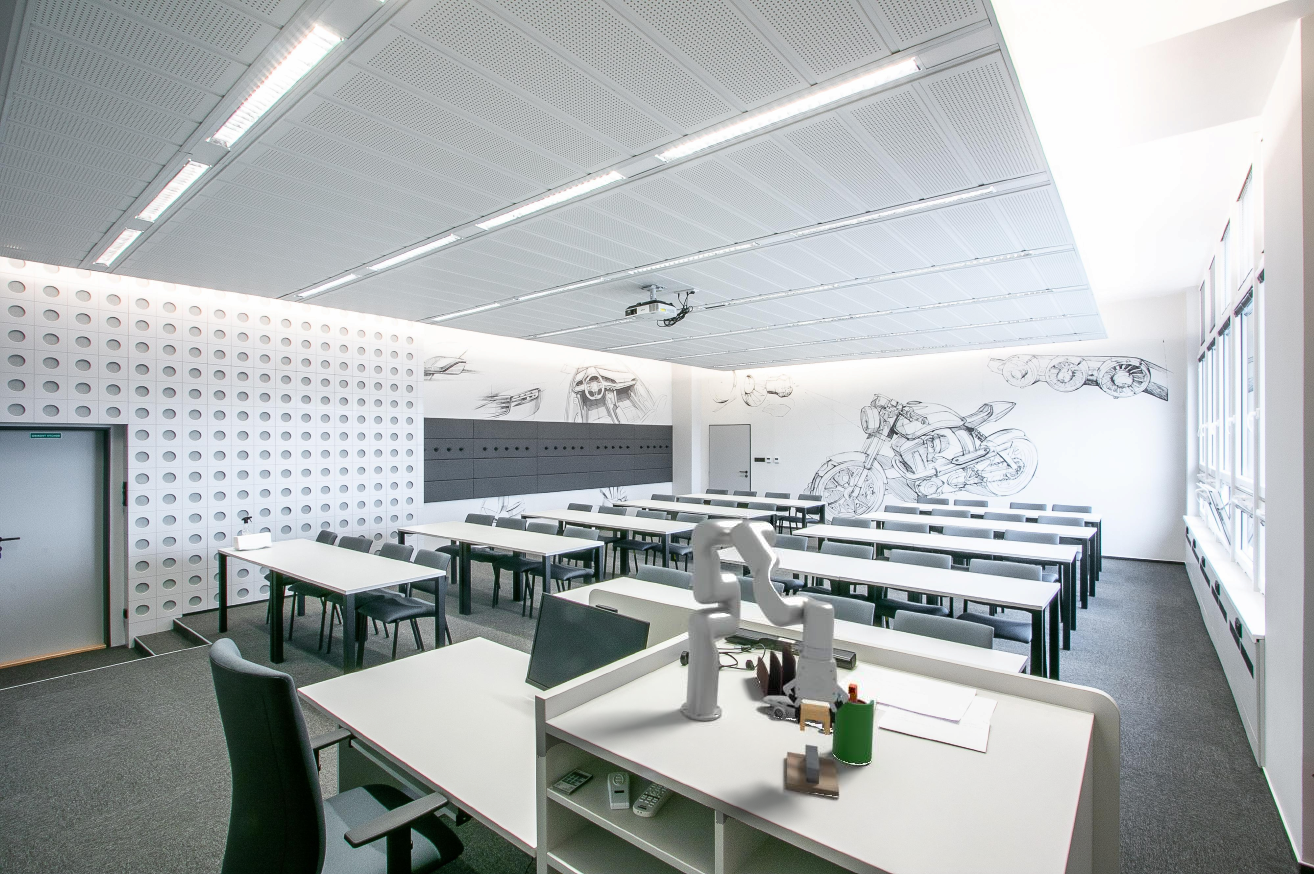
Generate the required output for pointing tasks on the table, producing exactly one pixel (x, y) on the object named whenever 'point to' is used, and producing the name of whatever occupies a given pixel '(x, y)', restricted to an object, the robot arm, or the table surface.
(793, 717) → the car model
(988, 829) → the table surface
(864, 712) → the motor
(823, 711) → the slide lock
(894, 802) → the table surface
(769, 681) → the letter holder
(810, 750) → the rail
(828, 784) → the rail base
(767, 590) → the robot arm
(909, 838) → the table surface
